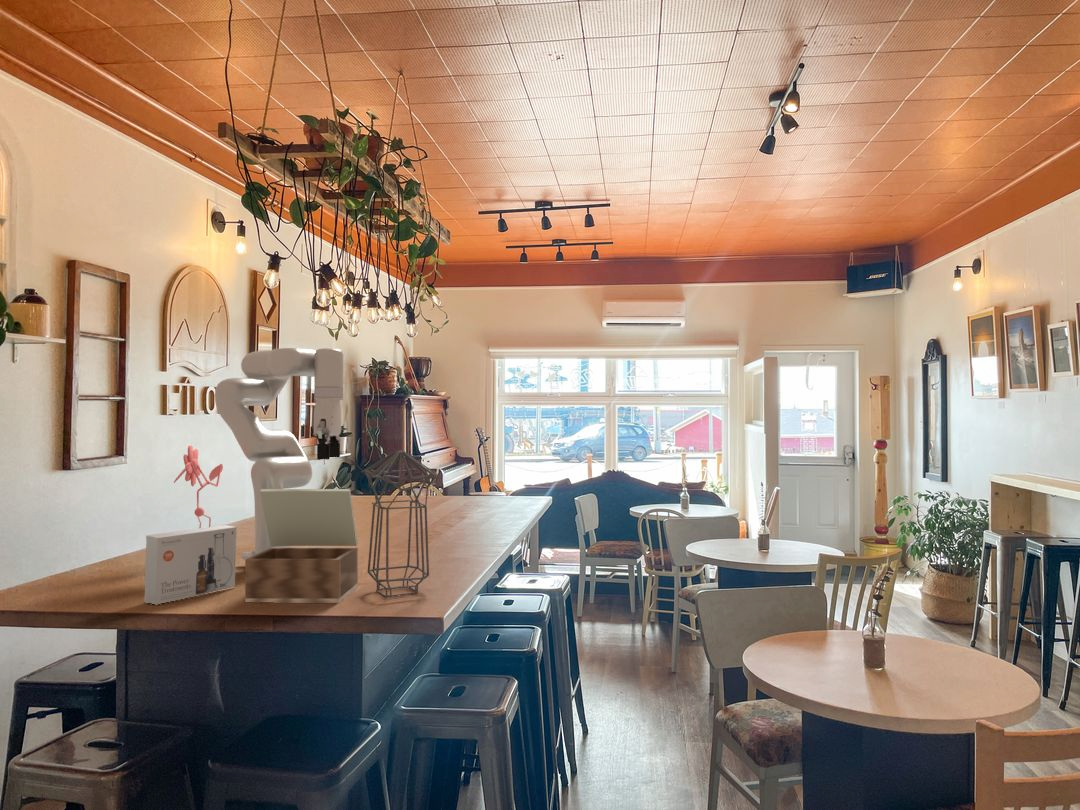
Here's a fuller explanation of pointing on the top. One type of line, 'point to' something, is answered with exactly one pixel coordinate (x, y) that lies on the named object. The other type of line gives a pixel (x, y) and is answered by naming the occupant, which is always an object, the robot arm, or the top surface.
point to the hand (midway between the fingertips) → (328, 458)
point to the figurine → (195, 471)
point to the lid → (309, 517)
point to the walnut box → (301, 575)
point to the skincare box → (189, 563)
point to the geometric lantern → (386, 462)
